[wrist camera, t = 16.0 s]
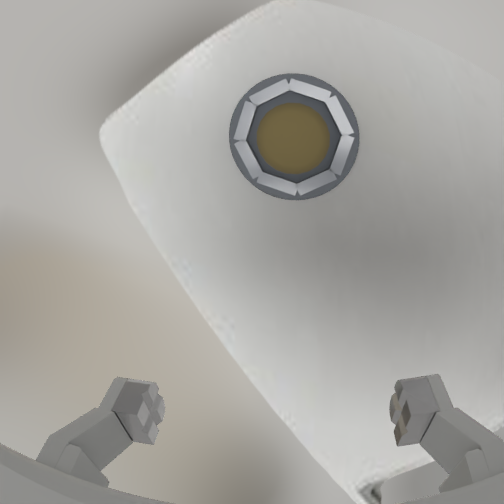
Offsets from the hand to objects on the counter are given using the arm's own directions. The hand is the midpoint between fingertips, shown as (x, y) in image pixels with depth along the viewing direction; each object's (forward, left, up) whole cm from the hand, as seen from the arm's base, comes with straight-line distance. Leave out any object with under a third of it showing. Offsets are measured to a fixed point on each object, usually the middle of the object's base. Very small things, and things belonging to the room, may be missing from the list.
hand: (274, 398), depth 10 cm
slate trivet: (-3, -7, -26) cm, 27 cm away
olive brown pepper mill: (-3, -7, -26) cm, 27 cm away
